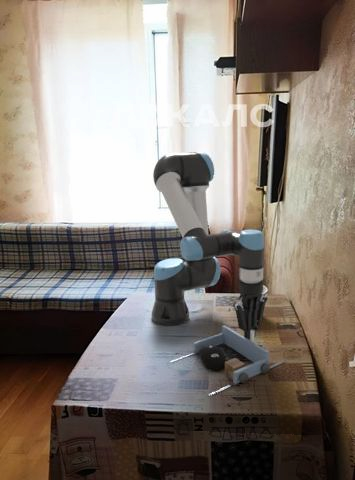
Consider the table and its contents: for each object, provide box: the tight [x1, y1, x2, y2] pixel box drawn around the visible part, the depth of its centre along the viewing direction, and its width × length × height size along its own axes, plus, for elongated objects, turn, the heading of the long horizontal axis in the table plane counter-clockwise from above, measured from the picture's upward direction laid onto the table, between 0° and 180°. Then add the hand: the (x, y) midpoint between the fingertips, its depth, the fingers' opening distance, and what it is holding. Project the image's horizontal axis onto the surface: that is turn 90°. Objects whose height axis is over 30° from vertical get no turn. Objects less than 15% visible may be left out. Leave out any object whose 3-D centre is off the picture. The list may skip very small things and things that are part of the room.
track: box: [169, 343, 286, 397], centre depth 117 cm, size 21×30×1 cm
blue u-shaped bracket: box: [193, 324, 271, 385], centre depth 116 cm, size 23×13×6 cm, turn 32°
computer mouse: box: [199, 346, 227, 373], centre depth 117 cm, size 8×12×4 cm, turn 9°
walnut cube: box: [224, 357, 245, 380], centre depth 110 cm, size 4×4×4 cm
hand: (249, 347), depth 121 cm, fingers closed
